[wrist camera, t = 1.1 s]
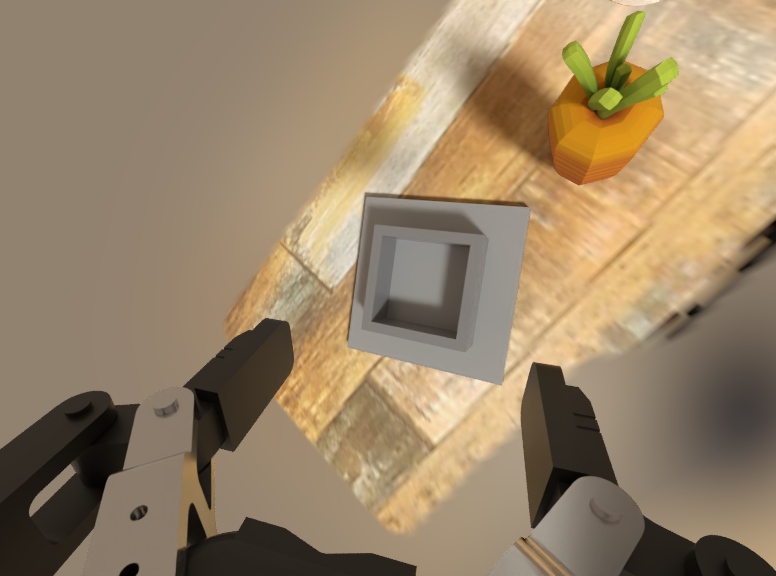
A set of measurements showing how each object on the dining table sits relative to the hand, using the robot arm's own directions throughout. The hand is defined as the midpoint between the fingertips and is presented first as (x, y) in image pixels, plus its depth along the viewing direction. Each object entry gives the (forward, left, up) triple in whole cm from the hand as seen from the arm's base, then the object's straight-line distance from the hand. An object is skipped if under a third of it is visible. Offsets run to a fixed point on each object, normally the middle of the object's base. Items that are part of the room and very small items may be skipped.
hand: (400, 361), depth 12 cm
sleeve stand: (-2, -5, -19) cm, 20 cm away
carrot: (-12, +5, -20) cm, 23 cm away
